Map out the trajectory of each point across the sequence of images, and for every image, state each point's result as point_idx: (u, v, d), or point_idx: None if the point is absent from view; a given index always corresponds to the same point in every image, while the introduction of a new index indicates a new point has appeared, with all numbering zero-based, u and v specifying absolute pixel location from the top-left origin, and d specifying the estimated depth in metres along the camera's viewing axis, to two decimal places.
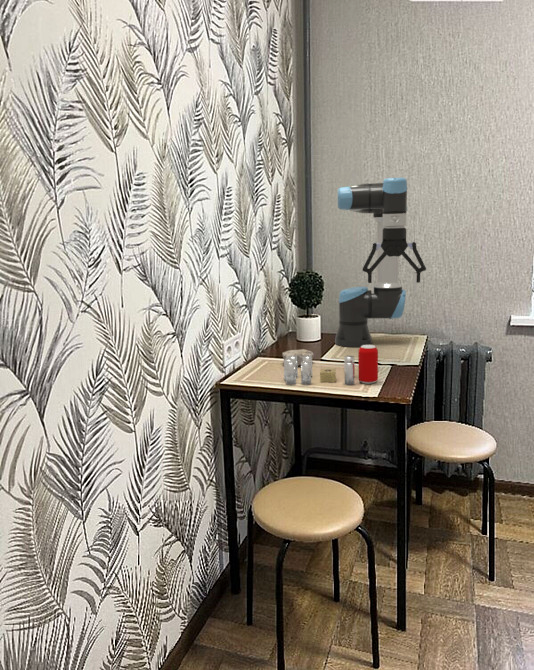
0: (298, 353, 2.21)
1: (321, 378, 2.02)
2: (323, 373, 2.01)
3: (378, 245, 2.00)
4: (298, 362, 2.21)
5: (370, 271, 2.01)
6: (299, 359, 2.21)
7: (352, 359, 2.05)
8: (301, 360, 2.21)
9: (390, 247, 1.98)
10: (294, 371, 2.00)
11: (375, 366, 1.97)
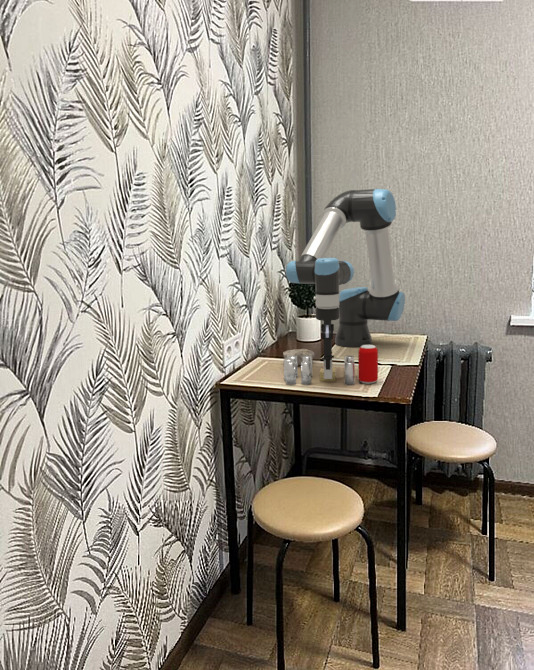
0: (299, 353, 2.22)
1: (321, 377, 2.02)
2: (323, 372, 2.02)
3: None
4: (299, 362, 2.22)
5: None
6: (300, 359, 2.22)
7: (352, 359, 2.05)
8: (302, 360, 2.22)
9: None
10: (294, 371, 2.00)
11: (375, 366, 1.97)
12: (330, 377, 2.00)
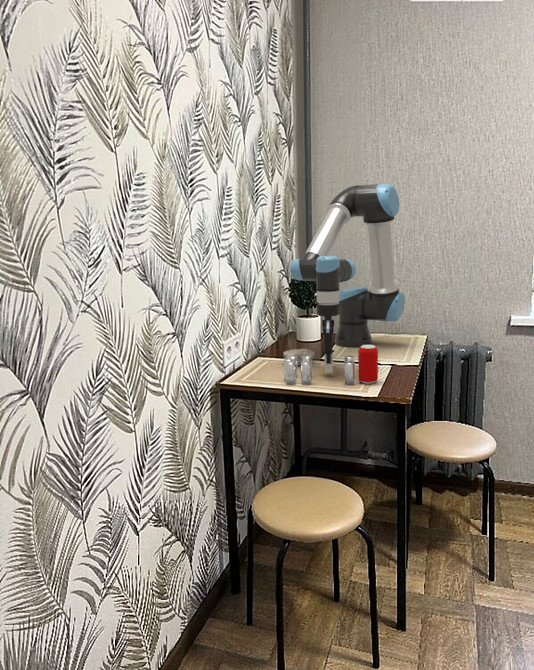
0: (299, 353, 2.22)
1: (322, 371, 2.10)
2: (324, 366, 2.09)
3: None
4: (299, 361, 2.22)
5: None
6: (300, 358, 2.22)
7: (352, 359, 2.05)
8: (302, 359, 2.22)
9: (322, 321, 2.07)
10: (294, 371, 2.00)
11: (375, 366, 1.97)
12: (331, 371, 2.08)
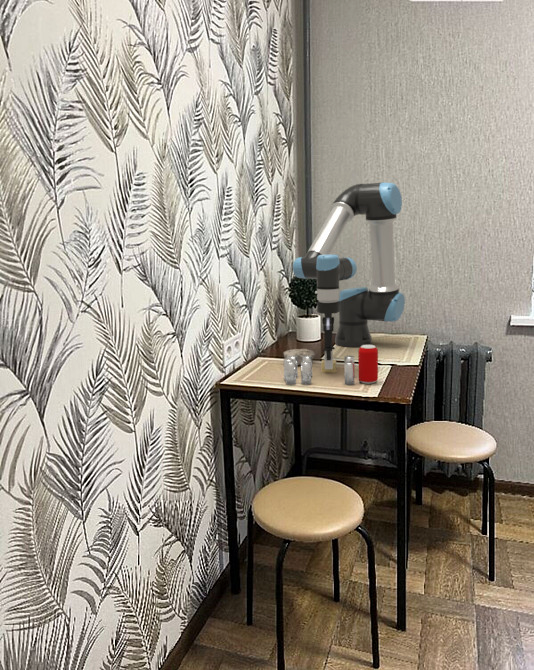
0: (299, 353, 2.22)
1: (322, 368, 2.14)
2: (324, 364, 2.13)
3: None
4: (299, 361, 2.22)
5: None
6: (300, 358, 2.22)
7: (352, 359, 2.05)
8: (302, 359, 2.22)
9: None
10: (294, 371, 2.00)
11: (375, 366, 1.97)
12: (331, 367, 2.12)
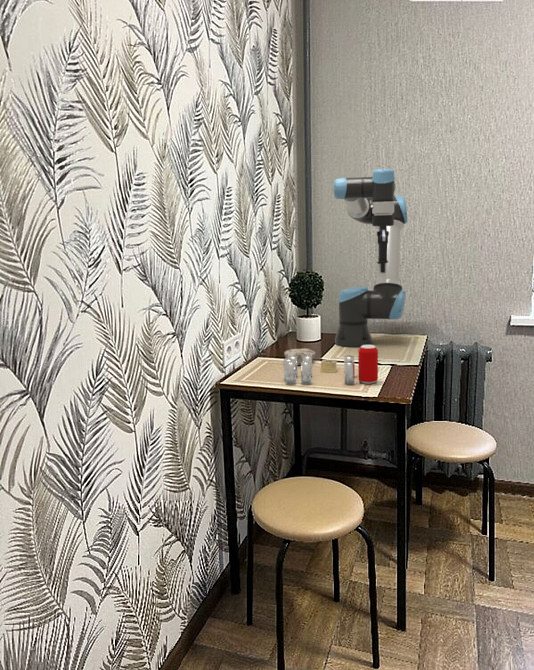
0: (300, 352, 2.23)
1: (322, 368, 2.14)
2: (324, 364, 2.13)
3: None
4: (300, 361, 2.23)
5: None
6: (301, 358, 2.23)
7: (352, 359, 2.05)
8: (302, 359, 2.22)
9: (377, 232, 2.19)
10: (294, 371, 2.00)
11: (375, 366, 1.97)
12: (384, 280, 2.20)
